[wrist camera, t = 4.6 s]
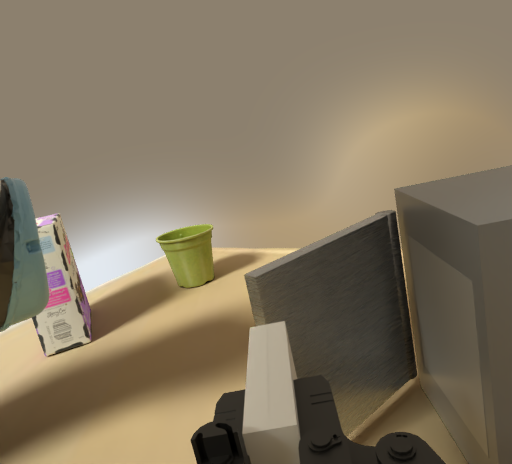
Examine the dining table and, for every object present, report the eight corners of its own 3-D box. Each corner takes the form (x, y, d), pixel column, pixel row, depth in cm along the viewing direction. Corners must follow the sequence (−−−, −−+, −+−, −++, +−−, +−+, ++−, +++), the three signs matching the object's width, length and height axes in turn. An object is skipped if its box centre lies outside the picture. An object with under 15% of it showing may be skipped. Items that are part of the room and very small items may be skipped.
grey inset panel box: (409, 369, 36) (383, 172, 32) (530, 348, 35) (517, 144, 32) (503, 520, 22) (474, 203, 18) (704, 490, 22) (718, 155, 18)
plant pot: (172, 278, 76) (160, 232, 74) (224, 267, 76) (213, 220, 74) (165, 297, 66) (151, 245, 65) (224, 284, 67) (212, 232, 65)
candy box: (92, 342, 55) (54, 221, 52) (44, 359, 53) (0, 234, 50) (92, 310, 68) (60, 210, 64) (53, 322, 66) (18, 220, 62)
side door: (397, 364, 34) (375, 210, 32) (420, 372, 33) (399, 210, 30) (278, 465, 27) (234, 273, 24) (300, 482, 25) (256, 278, 22)
